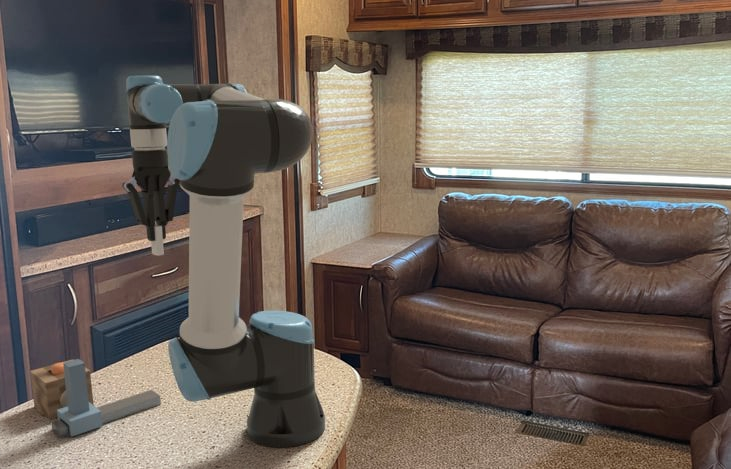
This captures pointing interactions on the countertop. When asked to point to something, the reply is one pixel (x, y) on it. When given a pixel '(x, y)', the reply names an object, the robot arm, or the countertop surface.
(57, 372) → the orange rounded cylinder
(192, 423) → the countertop surface
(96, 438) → the countertop surface
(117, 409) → the rail
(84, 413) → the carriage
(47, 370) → the wooden box
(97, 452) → the countertop surface
